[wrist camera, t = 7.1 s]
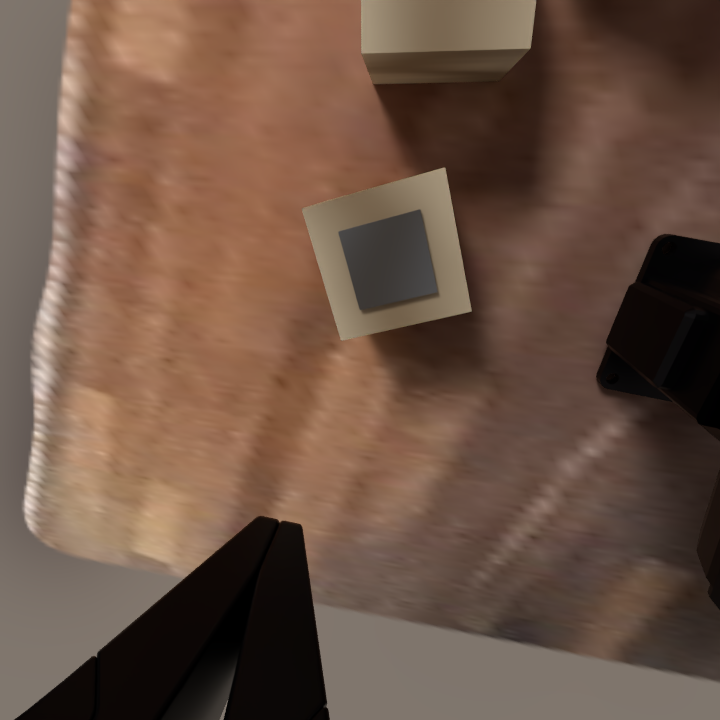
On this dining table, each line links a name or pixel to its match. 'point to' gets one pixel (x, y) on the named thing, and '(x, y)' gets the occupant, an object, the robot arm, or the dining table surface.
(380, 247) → the labelled block
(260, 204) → the dining table surface
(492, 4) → the plain block
